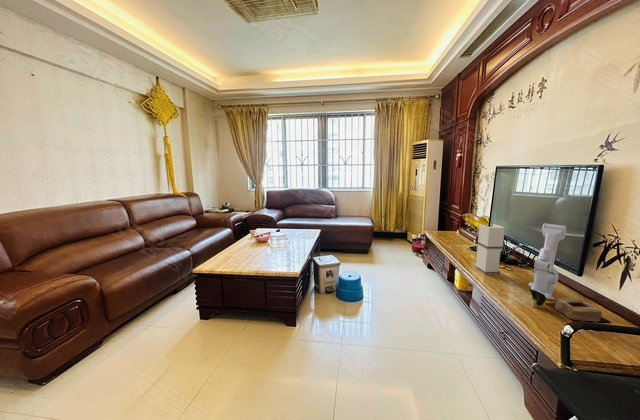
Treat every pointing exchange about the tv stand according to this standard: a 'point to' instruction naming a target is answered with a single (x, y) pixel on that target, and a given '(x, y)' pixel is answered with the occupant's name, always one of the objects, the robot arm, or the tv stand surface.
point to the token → (534, 303)
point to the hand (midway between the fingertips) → (537, 303)
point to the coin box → (577, 309)
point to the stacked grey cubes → (489, 249)
